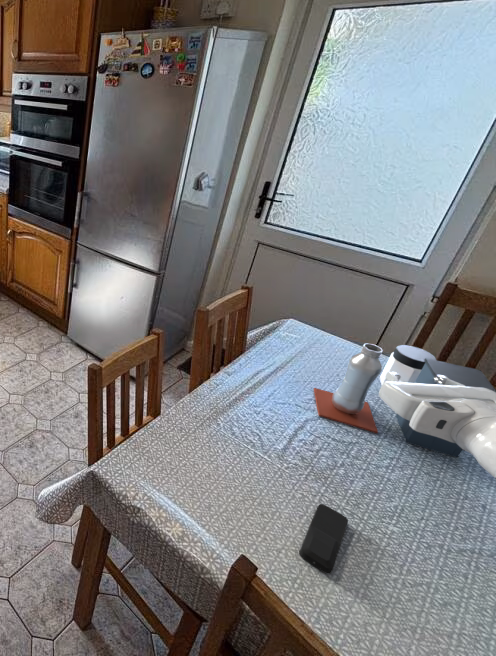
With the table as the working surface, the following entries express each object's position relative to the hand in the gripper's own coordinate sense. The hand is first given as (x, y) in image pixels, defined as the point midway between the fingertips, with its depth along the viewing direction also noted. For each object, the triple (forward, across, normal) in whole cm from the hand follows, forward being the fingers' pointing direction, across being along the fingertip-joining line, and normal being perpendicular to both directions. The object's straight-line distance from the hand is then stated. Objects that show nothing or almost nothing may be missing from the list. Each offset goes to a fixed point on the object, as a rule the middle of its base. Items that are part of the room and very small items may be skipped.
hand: (413, 375), depth 91 cm
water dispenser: (+5, -14, +22) cm, 26 cm away
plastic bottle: (+12, 0, +21) cm, 24 cm away
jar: (+24, -21, +22) cm, 39 cm away
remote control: (-26, +26, +22) cm, 43 cm away
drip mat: (+12, 0, +22) cm, 25 cm away
